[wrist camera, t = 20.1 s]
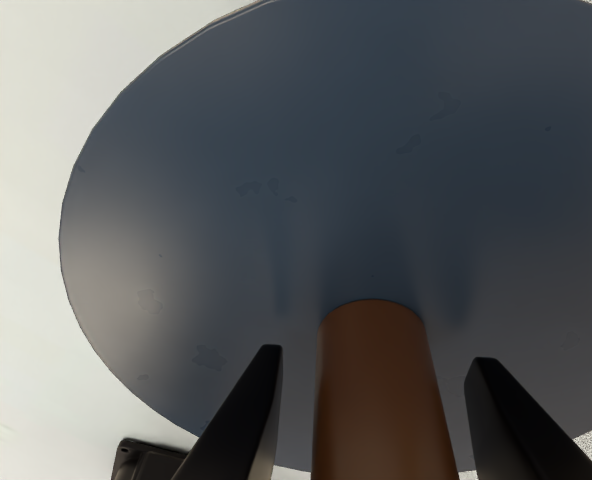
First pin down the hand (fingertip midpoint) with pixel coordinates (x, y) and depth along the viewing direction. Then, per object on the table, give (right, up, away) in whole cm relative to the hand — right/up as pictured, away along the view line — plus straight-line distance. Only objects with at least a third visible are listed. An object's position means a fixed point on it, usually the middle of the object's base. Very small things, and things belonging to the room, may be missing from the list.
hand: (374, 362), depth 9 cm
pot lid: (0, +1, +1) cm, 1 cm away
